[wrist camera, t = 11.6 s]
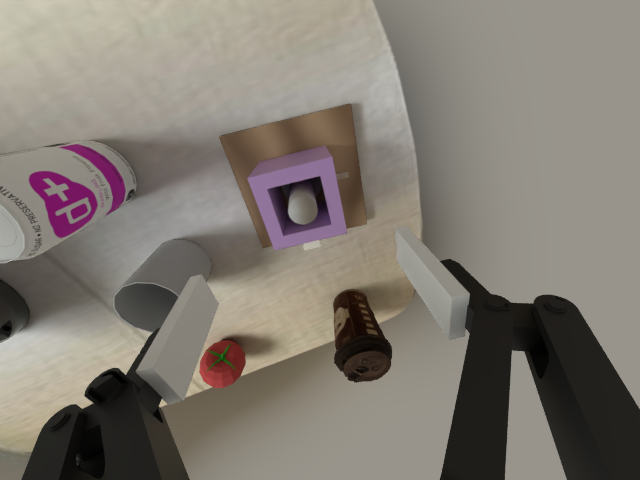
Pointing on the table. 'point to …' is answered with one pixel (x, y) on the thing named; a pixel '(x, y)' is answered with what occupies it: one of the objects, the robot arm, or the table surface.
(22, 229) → the supplement can
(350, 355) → the coffee cup
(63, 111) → the table surface
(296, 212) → the post board
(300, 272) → the table surface
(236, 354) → the tomato
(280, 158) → the purple planter box
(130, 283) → the cup
